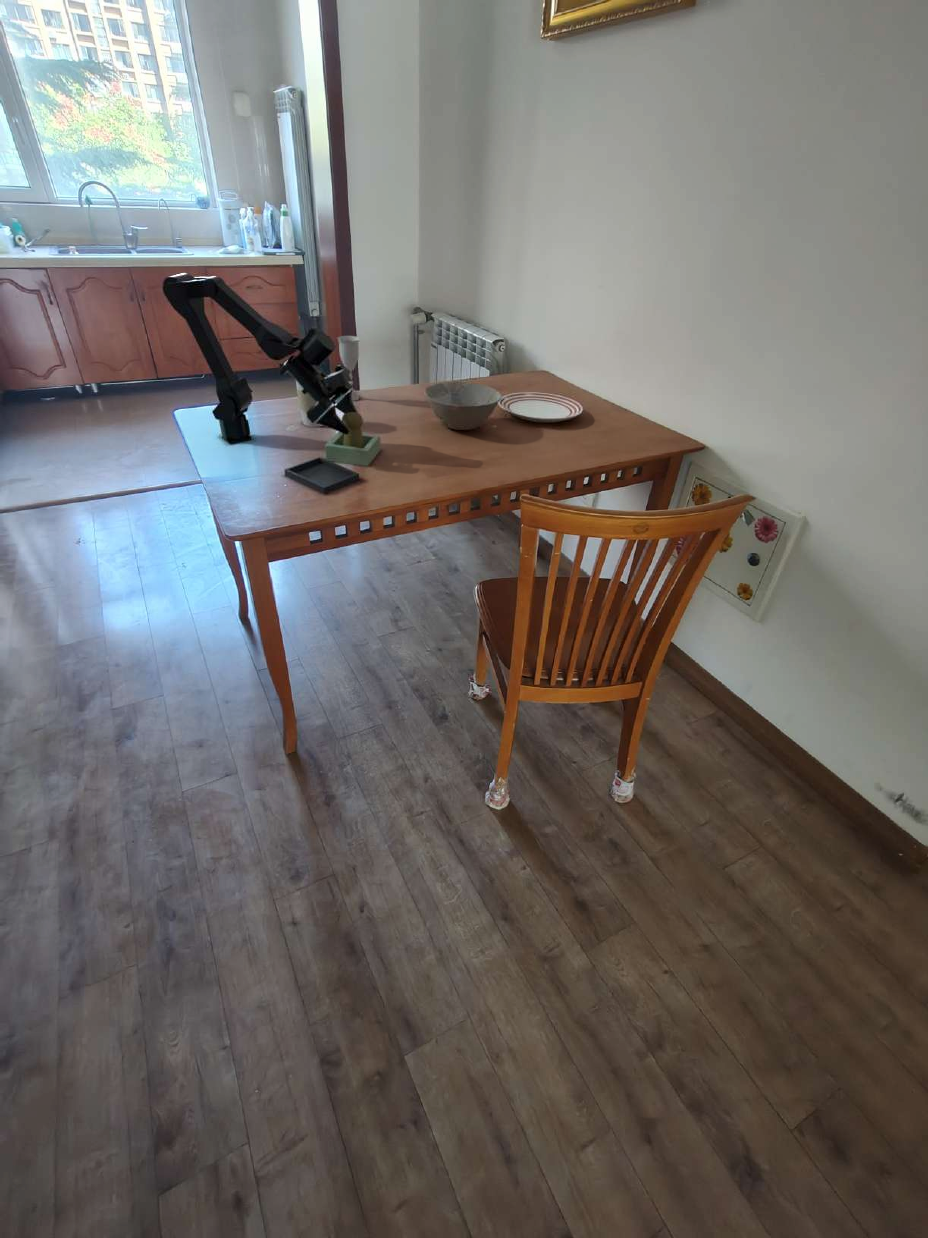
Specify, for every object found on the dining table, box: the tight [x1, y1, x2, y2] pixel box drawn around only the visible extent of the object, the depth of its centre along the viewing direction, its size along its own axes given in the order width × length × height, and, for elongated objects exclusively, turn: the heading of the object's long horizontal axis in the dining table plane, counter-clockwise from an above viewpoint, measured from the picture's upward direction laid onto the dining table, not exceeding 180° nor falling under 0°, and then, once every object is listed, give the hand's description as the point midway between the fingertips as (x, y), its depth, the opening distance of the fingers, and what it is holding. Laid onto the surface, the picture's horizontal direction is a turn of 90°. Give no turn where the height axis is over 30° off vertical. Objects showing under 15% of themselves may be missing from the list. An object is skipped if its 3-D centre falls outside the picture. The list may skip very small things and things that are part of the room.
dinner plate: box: [497, 391, 584, 424], centre depth 192 cm, size 28×27×3 cm
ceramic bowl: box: [423, 381, 503, 431], centre depth 176 cm, size 22×23×10 cm
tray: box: [284, 456, 360, 495], centre depth 144 cm, size 14×11×2 cm
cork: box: [341, 412, 364, 448], centre depth 153 cm, size 6×6×11 cm
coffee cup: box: [295, 366, 324, 428], centre depth 169 cm, size 9×9×15 cm
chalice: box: [337, 335, 360, 402], centre depth 187 cm, size 7×7×18 cm
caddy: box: [324, 431, 381, 467], centre depth 155 cm, size 11×11×4 cm
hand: (354, 427), depth 152 cm, fingers open, 9 cm apart
